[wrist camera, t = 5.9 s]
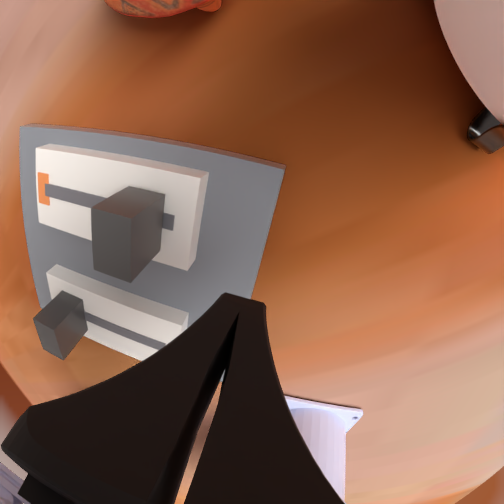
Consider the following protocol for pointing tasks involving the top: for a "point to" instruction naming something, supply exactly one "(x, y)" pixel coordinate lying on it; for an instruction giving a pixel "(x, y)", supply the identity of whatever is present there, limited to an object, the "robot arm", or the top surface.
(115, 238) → the gray slider knob
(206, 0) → the pot
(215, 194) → the grey slider panel
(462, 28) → the coffee press
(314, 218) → the top surface
